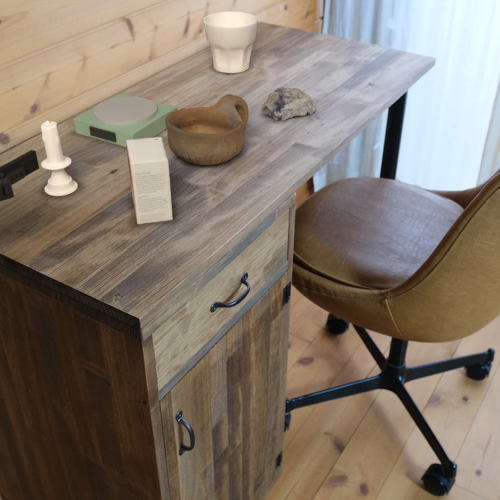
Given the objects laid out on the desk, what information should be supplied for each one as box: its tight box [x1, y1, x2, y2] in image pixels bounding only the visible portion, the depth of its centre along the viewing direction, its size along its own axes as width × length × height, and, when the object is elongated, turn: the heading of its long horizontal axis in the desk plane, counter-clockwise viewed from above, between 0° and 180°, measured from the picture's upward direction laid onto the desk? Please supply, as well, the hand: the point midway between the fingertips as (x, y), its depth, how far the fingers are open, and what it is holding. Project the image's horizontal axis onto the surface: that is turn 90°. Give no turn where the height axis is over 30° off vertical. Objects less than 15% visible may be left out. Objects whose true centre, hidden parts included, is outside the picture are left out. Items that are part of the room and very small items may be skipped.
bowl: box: [165, 93, 249, 166], centre depth 115 cm, size 18×14×10 cm
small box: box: [125, 136, 174, 225], centre depth 98 cm, size 8×6×10 cm
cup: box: [202, 10, 259, 74], centre depth 149 cm, size 12×12×11 cm
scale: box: [72, 93, 178, 148], centre depth 124 cm, size 14×14×4 cm
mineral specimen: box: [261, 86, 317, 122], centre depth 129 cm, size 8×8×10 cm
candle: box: [40, 119, 79, 197], centre depth 103 cm, size 5×5×12 cm
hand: (0, 148), depth 93 cm, fingers open, 13 cm apart
